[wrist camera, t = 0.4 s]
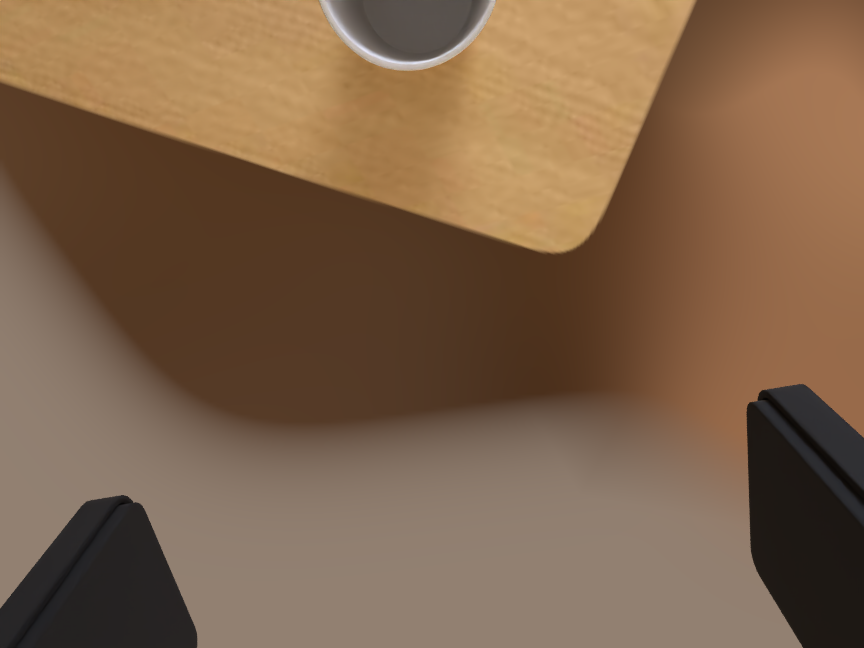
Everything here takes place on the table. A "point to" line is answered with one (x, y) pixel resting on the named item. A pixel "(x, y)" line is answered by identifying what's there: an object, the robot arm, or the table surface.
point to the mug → (407, 29)
